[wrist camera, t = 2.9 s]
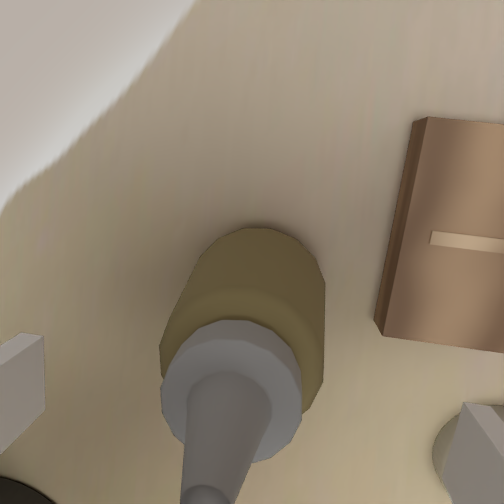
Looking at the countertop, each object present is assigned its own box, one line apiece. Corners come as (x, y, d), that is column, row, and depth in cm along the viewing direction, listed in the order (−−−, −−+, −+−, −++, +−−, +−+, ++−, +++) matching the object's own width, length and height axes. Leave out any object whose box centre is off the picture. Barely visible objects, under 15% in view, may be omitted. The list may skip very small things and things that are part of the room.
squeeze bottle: (244, 194, 25) (138, 264, 7) (345, 262, 25) (473, 481, 8) (182, 290, 27) (-18, 526, 9) (277, 352, 27) (256, 690, 10)
